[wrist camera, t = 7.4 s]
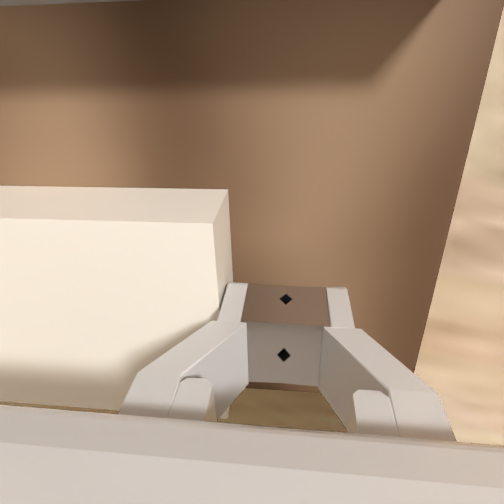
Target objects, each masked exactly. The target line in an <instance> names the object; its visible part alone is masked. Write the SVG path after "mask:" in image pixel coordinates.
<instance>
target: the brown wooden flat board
mask: <svg viewBox="0 0 504 504" xmlns="http://www.w3.org/2000/svg"><path fill="white" fill-rule="evenodd" d="M503 7H504V0H133V1H110V2H88V3H65V4H42V5H20V6H0V186H54V187H115V188H177V189H228V196H229V215H230V233H231V252H232V270H233V282H237V283H248V284H249V283H255V284H271V285H287V286H304V287H346V288H347V290H348V295H349V300H350V305H351V310H352V316H353V321H354V326H355V328H357V329H362V330H363V331H364V332H366V333H367V334H368V335H369V336H370V337H371V338H373V339H374V340H375V341H376V342H377V343H379V344H380V345H381V346H382V347H383V348H384V349H386V350H387V351H388V352H389V353H390V354H392V355H393V356H394V357H395V358H396V359H397V360H399V361H400V362H401V363H402V364H403V365H405V366H406V367H407V368H408V369H409V370H410V371H412V372H413V373H414V370H415V366H416V362H417V358H418V354H419V350H420V346H421V342H422V338H423V333H424V329H425V325H426V321H427V317H428V313H429V309H430V305H431V301H432V297H433V293H434V288H435V284H436V280H437V276H438V272H439V268H440V264H441V260H442V256H443V252H444V248H445V244H446V239H447V235H448V231H449V227H450V223H451V219H452V215H453V211H454V207H455V203H456V199H457V195H458V190H459V186H460V182H461V178H462V174H463V170H464V166H465V162H466V158H467V154H468V150H469V145H470V141H471V137H472V133H473V129H474V125H475V121H476V117H477V113H478V109H479V105H480V101H481V96H482V92H483V88H484V84H485V80H486V76H487V72H488V68H489V64H490V60H491V56H492V51H493V47H494V43H495V39H496V35H497V31H498V27H499V23H500V19H501V15H502V11H503ZM245 388H255V389H271V390H287V391H303V392H319V393H321V392H320V390H319V389H318V386H307V385H297V384H287V383H268V382H249V384H248V385H247V386H246V387H245Z"/></svg>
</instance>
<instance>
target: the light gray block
mask: <svg viewBox="0 0 504 504" xmlns="http://www.w3.org/2000/svg"><path fill="white" fill-rule="evenodd" d="M110 1H133V0H0V6H20V5H42V4H65V3H88V2H110Z"/></svg>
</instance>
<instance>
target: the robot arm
mask: <svg viewBox="0 0 504 504" xmlns="http://www.w3.org/2000/svg"><path fill="white" fill-rule="evenodd" d="M249 382H268V383H287V384H297V385H307V386H318V389H319V390H320V392H321V393H322V395H323V396H324V398H325V399H326V400H327V402H328V403H329V405H330V406H331V408H332V409H333V411H334V412H335V413H336V415H337V416H338V418H339V419H340V421H341V422H342V424H343V425H344V426H345V428H346V429H347V433H344V432H332V431H320V430H307V429H295V428H282V427H270V426H257V425H245V424H232V423H220V422H216V421H217V420H218V419H219V418H220V416H221V415H222V414H223V413H224V412H225V411H226V409H227V408H228V407H229V406H230V405H231V404H232V402H233V401H234V400H235V399H236V398H237V397H238V395H239V394H240V393H241V392H242V391H243V390H244V388H245V387H246V386H247V385H248V384H249ZM0 504H504V446H501V445H488V444H476V443H464V442H457V441H456V439H455V436H454V433H453V431H452V428H451V426H450V423H449V421H448V418H447V415H446V413H445V410H444V408H443V405H442V403H441V400H440V397H439V395H438V393H437V392H435V391H434V390H433V389H432V388H431V387H429V386H428V385H427V384H426V383H425V382H424V381H422V380H421V379H420V378H419V377H418V376H416V375H415V374H414V373H413V372H412V371H410V370H409V369H408V368H407V367H406V366H405V365H403V364H402V363H401V362H400V361H399V360H397V359H396V358H395V357H394V356H393V355H392V354H390V353H389V352H388V351H387V350H386V349H384V348H383V347H382V346H381V345H380V344H379V343H377V342H376V341H375V340H374V339H373V338H371V337H370V336H369V335H368V334H367V333H366V332H364V331H363V330H362V329H357V328H355V326H354V321H353V316H352V310H351V305H350V300H349V295H348V290H347V288H346V287H304V286H287V285H271V284H255V283H249V284H248V283H237V282H230V283H229V284H228V285H227V288H226V292H225V295H224V298H223V302H222V305H221V309H220V312H219V316H218V319H217V321H210V322H209V323H207V324H206V325H204V326H203V327H202V328H200V329H199V330H197V331H196V332H194V333H193V334H192V335H190V336H189V337H187V338H186V339H185V340H183V341H182V342H180V343H179V344H177V345H176V346H175V347H173V348H172V349H170V350H169V351H167V352H166V353H165V354H163V355H162V356H160V357H159V358H157V359H156V360H155V361H153V362H152V363H150V364H149V365H147V366H146V367H145V368H143V369H142V370H140V371H139V372H138V373H137V375H136V377H135V379H134V381H133V383H132V385H131V387H130V389H129V391H128V393H127V396H126V398H125V400H124V402H123V404H122V406H121V408H120V410H119V412H118V414H109V413H96V412H84V411H72V410H59V409H47V408H35V407H23V406H10V405H0Z"/></svg>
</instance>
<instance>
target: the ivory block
mask: <svg viewBox="0 0 504 504" xmlns="http://www.w3.org/2000/svg"><path fill="white" fill-rule="evenodd" d="M230 282H233V270H232V252H231V233H230V215H229V196H228V189H177V188H115V187H54V186H0V402H13V403H26V404H39V405H52V406H65V407H78V408H91V409H104V410H117V411H119V410H120V408H121V406H122V404H123V402H124V400H125V398H126V396H127V393H128V391H129V389H130V387H131V385H132V383H133V381H134V379H135V377H136V375H137V373H138V372H139V371H140V370H142V369H143V368H145V367H146V366H147V365H149V364H150V363H152V362H153V361H155V360H156V359H157V358H159V357H160V356H162V355H163V354H165V353H166V352H167V351H169V350H170V349H172V348H173V347H175V346H176V345H177V344H179V343H180V342H182V341H183V340H185V339H186V338H187V337H189V336H190V335H192V334H193V333H194V332H196V331H197V330H199V329H200V328H202V327H203V326H204V325H206V324H207V323H209V322H210V321H217V319H218V316H219V312H220V309H221V305H222V302H223V298H224V295H225V292H226V288H227V285H228V284H229V283H230ZM229 410H230V406H229V407H228V408H227V409H226V411H225V412H224V413H223V414H222V415H221V416H220V418H221V419H228V416H229Z"/></svg>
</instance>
